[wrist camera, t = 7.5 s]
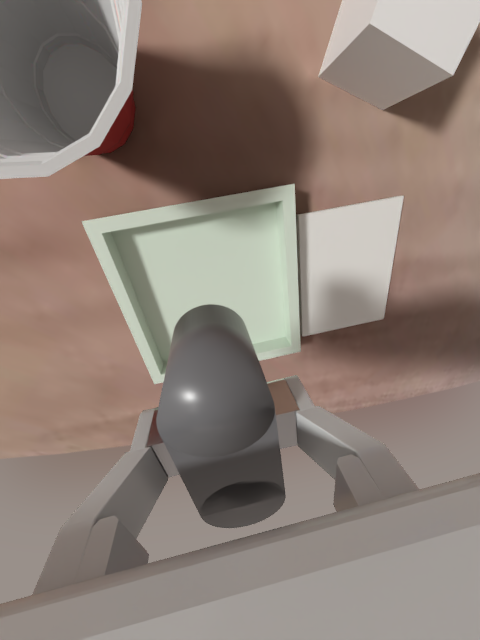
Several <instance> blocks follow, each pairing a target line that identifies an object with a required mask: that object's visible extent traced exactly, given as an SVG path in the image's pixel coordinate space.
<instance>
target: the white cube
mask: <svg viewBox="0 0 480 640" xmlns="http://www.w3.org/2000/svg"><path fill="white" fill-rule="evenodd" d="M479 22H480V0H342V3H341V6H340V9H339V13H338V16H337V19H336V22H335V25H334V28H333V32H332V35H331V38H330V41H329V44H328V47H327V51H326V54H325V57H324V60H323V63H322V67H321V70H320V73H319V76H318V77H319V78H321V79H323V80H325V81H327V82H329V83H331V84H333V85H335V86H337V87H339V88H341V89H343V90H344V91H346V92H348V93H350V94H352V95H354V96H356V97H358V98H360V99H362V100H364V101H366V102H368V103H370V104H372V105H374V106H376V107H377V108H379V109H381V110H384V109H386V108H388V107H390V106H392V105H394V104H396V103H398V102H400V101H402V100H404V99H406V98H408V97H410V96H413V95H415V94H417V93H419V92H421V91H423V90H425V89H427V88H429V87H431V86H433V85H435V84H437V83H439V82H441V81H443V80H445V79H447V78H449V77H451V76H453V75H454V73H455V71H456V69H457V67H458V65H459V63H460V61H461V59H462V57H463V55H464V53H465V51H466V49H467V47H468V45H469V43H470V41H471V39H472V37H473V35H474V33H475V31H476V29H477V27H478V25H479Z"/></svg>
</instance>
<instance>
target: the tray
mask: <svg viewBox="0 0 480 640" xmlns="http://www.w3.org/2000/svg"><path fill="white" fill-rule="evenodd" d="M82 224H83V226H84V228H85V230H86V233H87V235H88V237H89V239H90V242H91V244H92V246H93V248H94V250H95V253H96V255H97V257H98V259H99V262H100V264H101V266H102V268H103V270H104V273H105V275H106V277H107V279H108V282H109V284H110V286H111V288H112V291H113V293H114V295H115V297H116V299H117V302H118V304H119V306H120V308H121V311H122V313H123V315H124V317H125V320H126V322H127V324H128V326H129V328H130V331H131V333H132V335H133V337H134V340H135V342H136V344H137V346H138V349H139V351H140V353H141V355H142V357H143V360H144V362H145V364H146V366H147V369H148V371H149V373H150V375H151V378H152V380H153V382H154V384H157V383H162V382H164V377H165V372H166V367H167V362H168V357H169V352H170V347H171V342H172V337H173V332H174V328H175V326H176V324H177V322H178V320H179V319H180V318H181V317H182V316H183V315H184V314H185V313H186V312H188V311H189V310H191V309H193V308H195V307H198V306H201V305H207V304H215V305H221V306H225V307H228V308H230V309H232V310H233V311H235V312H236V313H237V314H238V315H239V316H240V317H241V318H242V319H243V321H244V323H245V325H246V328H247V331H248V333H249V336H250V339H251V341H252V344H253V347H254V349H255V352H256V355H257V358H258V360H259V361H260V360H265V359H269V358H274V357H278V356H283V355H287V354H292V353H296V352H301V346H300V318H299V290H298V263H297V235H296V207H295V184H290V185H284V186H278V187H273V188H267V189H261V190H256V191H250V192H245V193H239V194H233V195H228V196H222V197H216V198H211V199H205V200H199V201H194V202H188V203H183V204H177V205H171V206H166V207H160V208H154V209H149V210H143V211H137V212H132V213H126V214H121V215H115V216H109V217H104V218H98V219H92V220H87V221H82Z"/></svg>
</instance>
